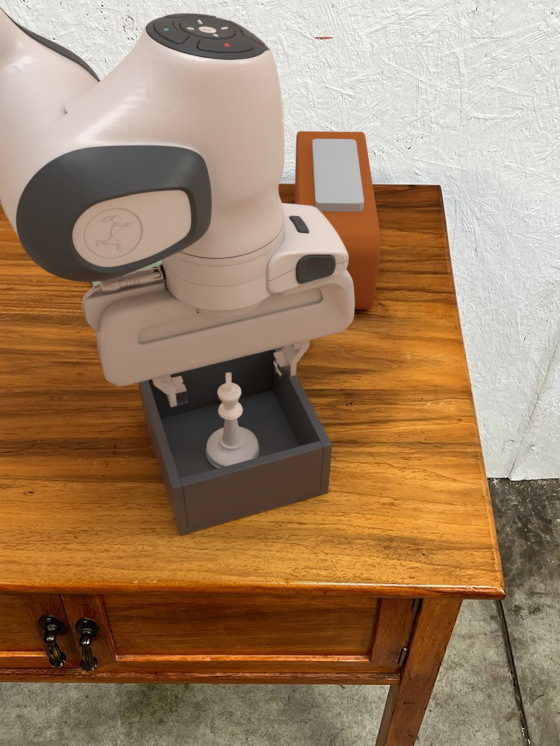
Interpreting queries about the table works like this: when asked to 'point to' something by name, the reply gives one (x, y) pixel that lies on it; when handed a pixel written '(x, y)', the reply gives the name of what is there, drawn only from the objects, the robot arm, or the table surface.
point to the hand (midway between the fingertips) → (231, 386)
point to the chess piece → (231, 431)
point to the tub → (260, 416)
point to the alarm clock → (342, 199)
